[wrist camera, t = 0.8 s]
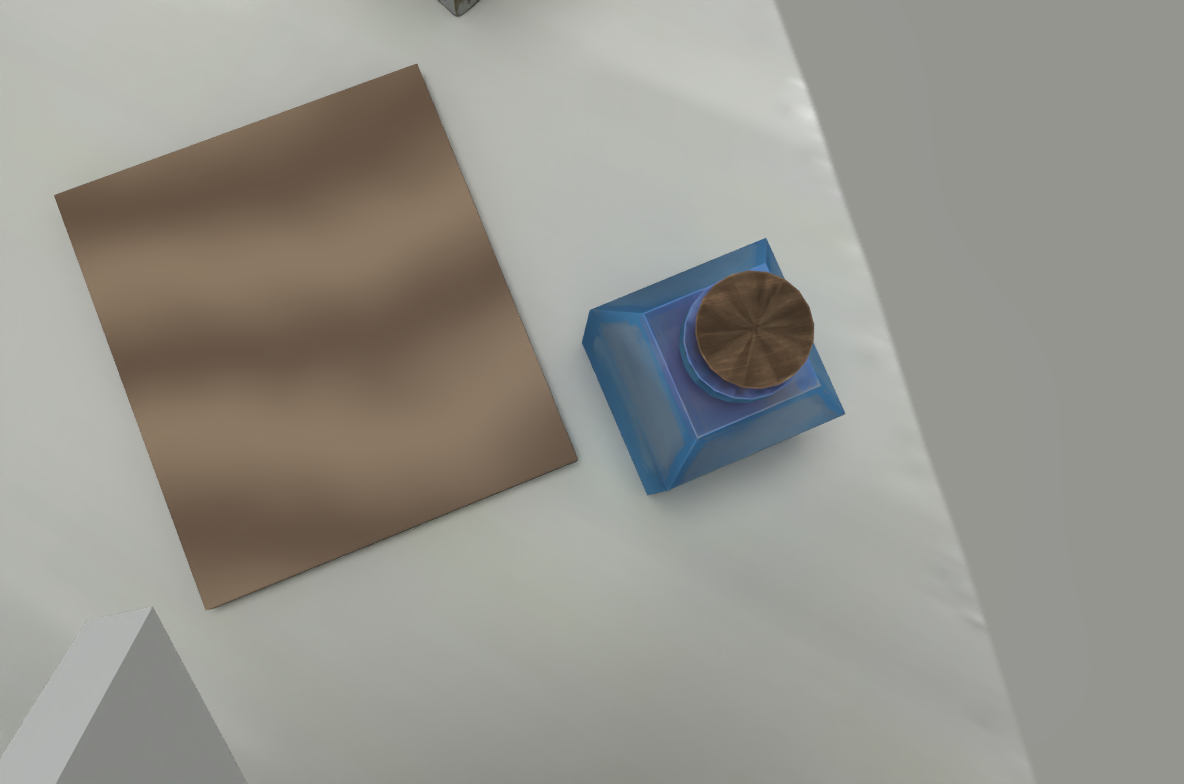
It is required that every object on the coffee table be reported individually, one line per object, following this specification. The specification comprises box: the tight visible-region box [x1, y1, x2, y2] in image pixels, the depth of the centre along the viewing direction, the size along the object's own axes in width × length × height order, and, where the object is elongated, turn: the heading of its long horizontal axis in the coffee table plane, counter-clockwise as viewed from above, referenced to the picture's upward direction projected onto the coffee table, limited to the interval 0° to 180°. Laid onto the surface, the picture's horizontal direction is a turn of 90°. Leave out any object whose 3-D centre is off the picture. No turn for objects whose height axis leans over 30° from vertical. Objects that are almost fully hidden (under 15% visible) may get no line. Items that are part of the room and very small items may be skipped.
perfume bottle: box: [582, 238, 845, 495], centre depth 34 cm, size 6×6×12 cm
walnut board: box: [54, 64, 578, 610], centre depth 38 cm, size 16×14×1 cm
